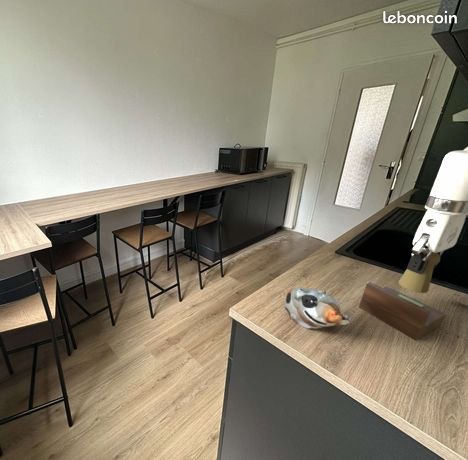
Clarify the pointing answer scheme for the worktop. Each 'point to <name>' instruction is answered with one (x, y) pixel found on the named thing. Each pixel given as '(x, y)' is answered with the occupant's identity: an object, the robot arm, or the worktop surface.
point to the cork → (420, 276)
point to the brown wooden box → (400, 311)
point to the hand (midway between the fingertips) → (421, 268)
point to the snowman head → (314, 308)
